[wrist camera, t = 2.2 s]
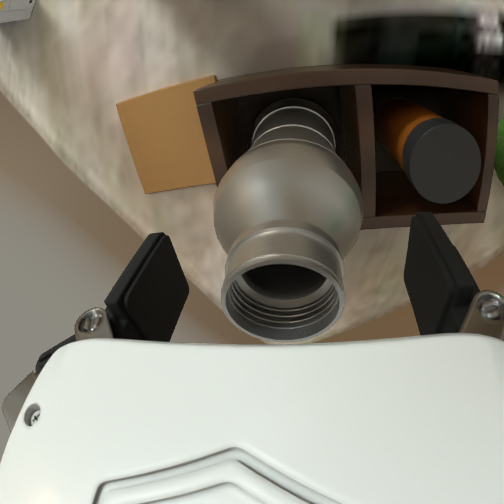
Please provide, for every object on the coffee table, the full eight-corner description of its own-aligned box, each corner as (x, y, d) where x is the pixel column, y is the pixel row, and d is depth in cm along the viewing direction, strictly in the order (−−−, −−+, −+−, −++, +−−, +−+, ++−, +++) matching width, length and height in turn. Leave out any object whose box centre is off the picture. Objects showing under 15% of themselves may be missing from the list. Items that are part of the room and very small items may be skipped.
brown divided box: (222, 79, 22) (192, 90, 16) (448, 68, 18) (498, 81, 12) (246, 191, 29) (230, 239, 23) (446, 179, 24) (484, 222, 18)
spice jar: (370, 96, 22) (410, 122, 14) (425, 97, 20) (484, 126, 13) (373, 152, 25) (407, 205, 17) (425, 151, 23) (475, 203, 16)
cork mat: (117, 103, 24) (115, 104, 24) (215, 75, 22) (214, 75, 22) (146, 192, 30) (145, 194, 30) (238, 178, 28) (237, 179, 28)
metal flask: (343, 149, 25) (406, 342, 9) (273, 174, 27) (234, 374, 12) (315, 82, 22) (370, 168, 6) (242, 112, 24) (130, 255, 8)
